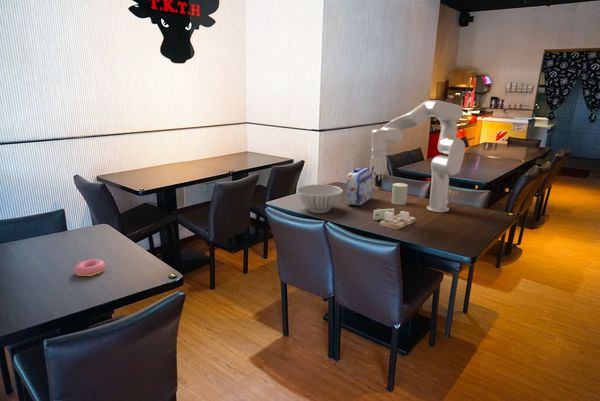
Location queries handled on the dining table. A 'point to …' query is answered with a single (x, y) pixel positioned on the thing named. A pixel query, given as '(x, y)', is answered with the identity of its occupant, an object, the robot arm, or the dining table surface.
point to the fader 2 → (404, 215)
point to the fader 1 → (389, 216)
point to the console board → (397, 222)
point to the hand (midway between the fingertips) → (378, 186)
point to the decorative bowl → (319, 197)
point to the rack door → (380, 213)
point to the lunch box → (359, 186)
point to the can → (399, 193)
